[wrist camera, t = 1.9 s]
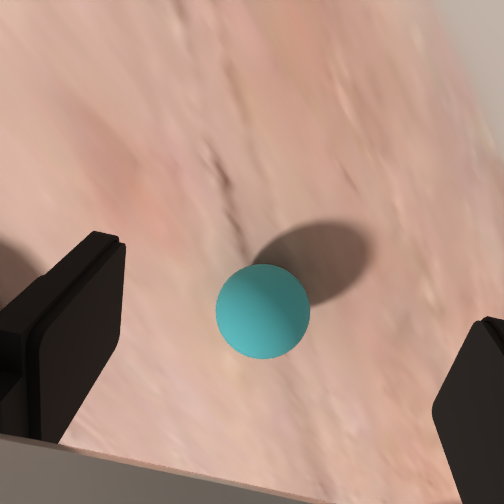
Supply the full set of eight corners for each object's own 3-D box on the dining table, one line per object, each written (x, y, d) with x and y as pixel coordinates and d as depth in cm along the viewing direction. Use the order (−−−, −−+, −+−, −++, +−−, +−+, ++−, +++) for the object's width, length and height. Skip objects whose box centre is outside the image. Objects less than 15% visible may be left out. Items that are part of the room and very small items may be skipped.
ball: (231, 240, 30) (215, 284, 24) (318, 259, 30) (322, 307, 24) (217, 313, 32) (201, 367, 27) (298, 331, 32) (297, 388, 27)
